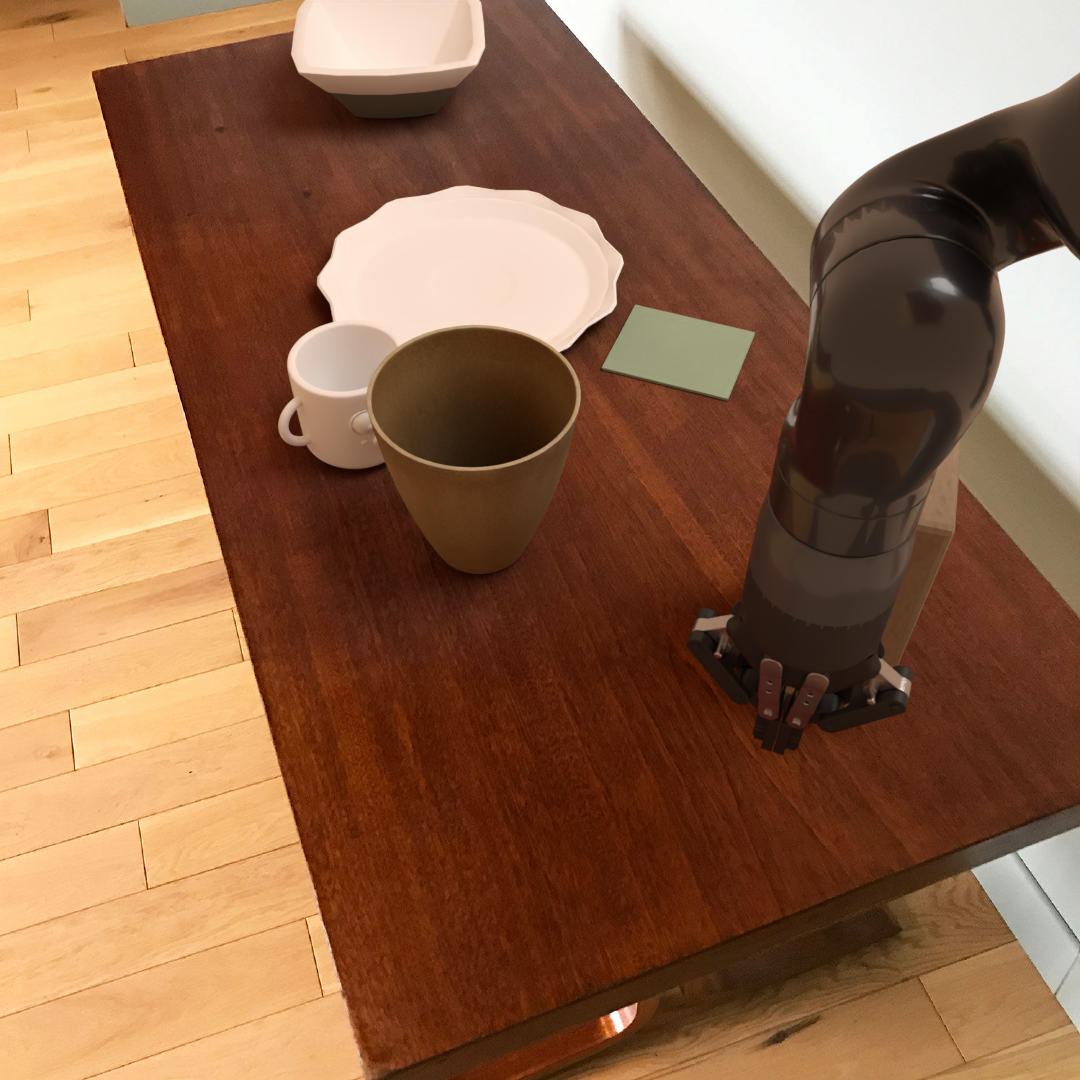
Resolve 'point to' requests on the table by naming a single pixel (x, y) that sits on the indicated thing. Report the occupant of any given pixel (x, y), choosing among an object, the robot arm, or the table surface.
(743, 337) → the mat
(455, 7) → the bowl
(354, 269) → the plate
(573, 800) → the table surface
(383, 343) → the mug
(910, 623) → the wooden block
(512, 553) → the plant pot
